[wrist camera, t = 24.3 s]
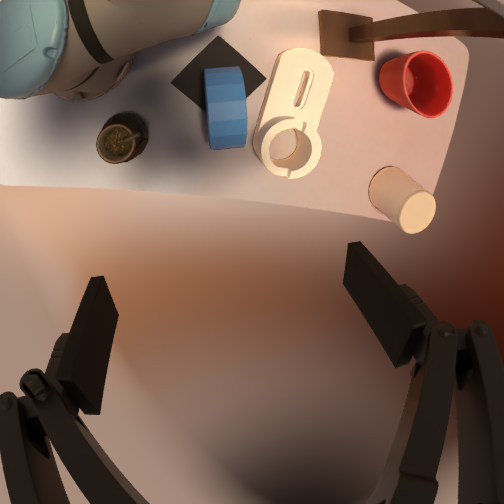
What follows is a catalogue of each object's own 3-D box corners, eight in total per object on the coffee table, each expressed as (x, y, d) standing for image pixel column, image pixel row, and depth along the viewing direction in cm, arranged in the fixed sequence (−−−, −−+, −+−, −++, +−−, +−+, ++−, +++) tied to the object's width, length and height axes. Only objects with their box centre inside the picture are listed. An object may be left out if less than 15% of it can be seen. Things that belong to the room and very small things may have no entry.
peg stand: (270, 54, 39) (423, 12, 10) (267, 8, 35) (402, -96, 6) (369, 60, 41) (556, 82, 12) (367, 18, 37) (549, 2, 8)
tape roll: (211, 157, 35) (204, 66, 29) (208, 141, 44) (203, 71, 39) (248, 154, 36) (244, 64, 30) (237, 139, 45) (233, 69, 39)
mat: (170, 83, 39) (170, 83, 39) (218, 36, 37) (218, 35, 36) (219, 124, 44) (220, 124, 43) (265, 78, 41) (266, 78, 41)
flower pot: (374, 111, 46) (406, 119, 38) (366, 50, 40) (399, 48, 32) (419, 108, 46) (454, 117, 38) (414, 53, 41) (450, 54, 32)
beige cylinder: (435, 180, 42) (402, 159, 51) (393, 201, 43) (363, 177, 52) (440, 232, 48) (411, 206, 57) (401, 253, 50) (375, 224, 58)
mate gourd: (97, 129, 40) (74, 140, 32) (137, 100, 40) (121, 105, 31) (121, 164, 44) (104, 184, 36) (160, 138, 43) (151, 152, 35)
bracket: (296, 172, 50) (310, 185, 44) (246, 159, 47) (253, 171, 42) (332, 61, 41) (351, 59, 35) (282, 42, 38) (295, 36, 33)
